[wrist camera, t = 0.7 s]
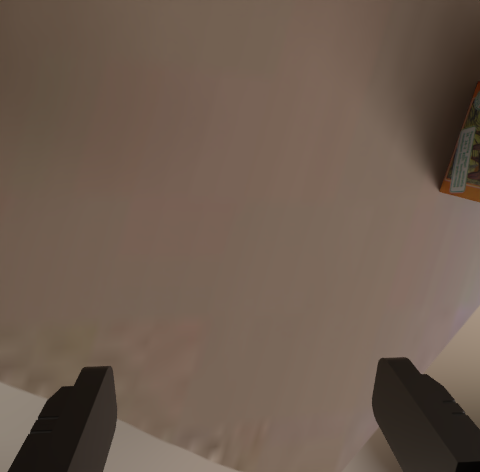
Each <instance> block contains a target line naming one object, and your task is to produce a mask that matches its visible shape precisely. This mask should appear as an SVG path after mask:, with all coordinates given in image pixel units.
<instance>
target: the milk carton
mask: <svg viewBox="0 0 480 472" xmlns="http://www.w3.org/2000/svg"><path fill="white" fill-rule="evenodd" d="M440 192H442V193H446V194H450V195H454V196H458V197H462V198H465V199H469V200H473V201H477V202H480V81H478V83H477V86H476V89H475V92H474V95H473V97H472V100H471V103H470V106H469V109H468V112H467V115H466V117H465V120H464V123H463V126H462V129H461V132H460V135H459V137H458V140H457V143H456V146H455V149H454V152H453V154H452V157H451V160H450V163H449V166H448V169H447V172H446V174H445V177H444V180H443V183H442V186H441V189H440Z"/></svg>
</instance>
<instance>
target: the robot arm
mask: <svg viewBox="0 0 480 472" xmlns="http://www.w3.org/2000/svg"><path fill="white" fill-rule="evenodd" d="M372 407H373V413H374V416H375V419H376V421H377V423H378V425H379V427H380V429H381V430H382V432H383V434H384V436H385V438H386V440H387V442H388V444H389V446H390V448H391V449H392V451H393V453H394V455H395V457H396V459H397V461H398V463H399V465H400V466H401V468H402V470H403V472H480V430H479V428H478V427H477V426H476V425H475V424H474V422H473V421H472V420H471V419H470V418H469V416H468V415H465V412H464V410H463V409H462V408H461V407H460V406H459V405H458V403H455V400H454V398H453V397H452V396H451V395H450V394H449V393H448V391H447V390H446V389H445V388H444V386H442V385H441V384H440V383H438V382H437V381H435V380H434V379H432V378H431V377H430V376H428V375H427V374H420V372H419V371H418V370H417V369H416V367H415V366H414V365H413V364H412V362H411V361H410V360H409V359H408V358H406V357H400V358H381V359H380V360H379V362H378V367H377V372H376V378H375V384H374V390H373V396H372ZM116 421H117V404H116V394H115V385H114V376H113V370H112V367H111V366H98V367H84V368H83V369H82V370H81V372H80V374H79V376H78V378H77V380H76V383H75V385H74V386H65V387H61V388H60V389H59V390H58V391H57V392H56V393H55V394H54V395H53V396H52V397H51V398H49V399H48V400H47V402H46V404H45V405H44V407H43V409H42V411H41V413H40V415H39V416H38V420H36V422H35V423H34V425H33V427H32V429H31V432H30V434H28V436H27V438H26V440H25V442H24V443H23V445H22V447H21V449H20V451H19V452H18V454H17V456H16V458H15V459H14V461H13V463H12V465H11V467H10V468H9V470H8V472H103V470H104V466H105V463H106V460H107V456H108V453H109V449H110V446H111V442H112V439H113V436H114V432H115V428H116Z"/></svg>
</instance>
